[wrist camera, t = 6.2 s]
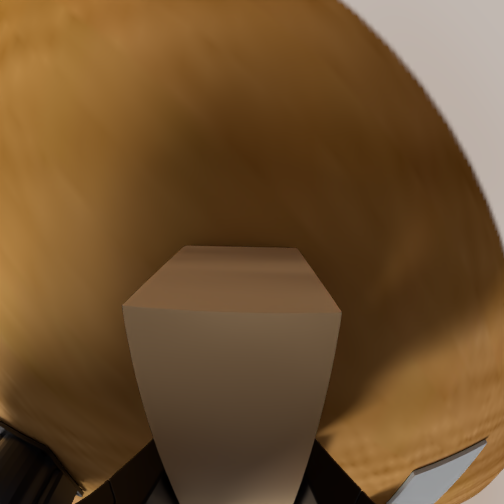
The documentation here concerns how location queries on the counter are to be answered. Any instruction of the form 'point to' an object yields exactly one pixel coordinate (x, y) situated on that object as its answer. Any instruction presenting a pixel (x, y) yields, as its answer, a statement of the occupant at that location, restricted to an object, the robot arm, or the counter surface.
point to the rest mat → (435, 478)
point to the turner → (233, 369)
